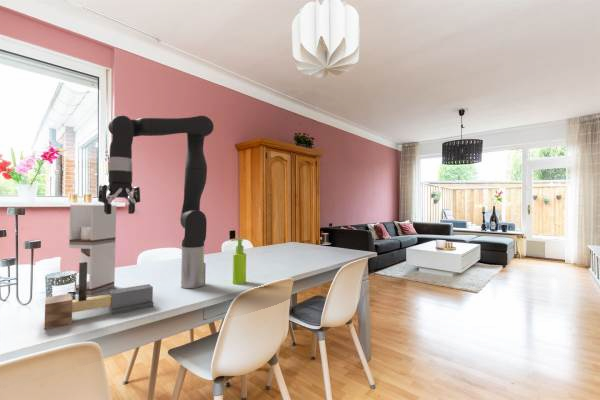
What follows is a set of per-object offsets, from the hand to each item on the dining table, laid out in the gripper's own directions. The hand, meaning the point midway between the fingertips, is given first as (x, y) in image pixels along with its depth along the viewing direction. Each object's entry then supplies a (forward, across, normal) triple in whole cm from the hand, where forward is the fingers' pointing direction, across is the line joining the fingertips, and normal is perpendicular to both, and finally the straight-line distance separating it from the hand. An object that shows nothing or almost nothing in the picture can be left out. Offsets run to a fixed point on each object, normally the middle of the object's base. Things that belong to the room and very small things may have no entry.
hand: (120, 213), depth 106 cm
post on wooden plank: (+29, -13, -7) cm, 33 cm away
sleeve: (+32, -4, -12) cm, 34 cm away
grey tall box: (+32, +4, +24) cm, 40 cm away
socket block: (+32, -21, -4) cm, 38 cm away
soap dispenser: (+32, +39, -25) cm, 56 cm away
